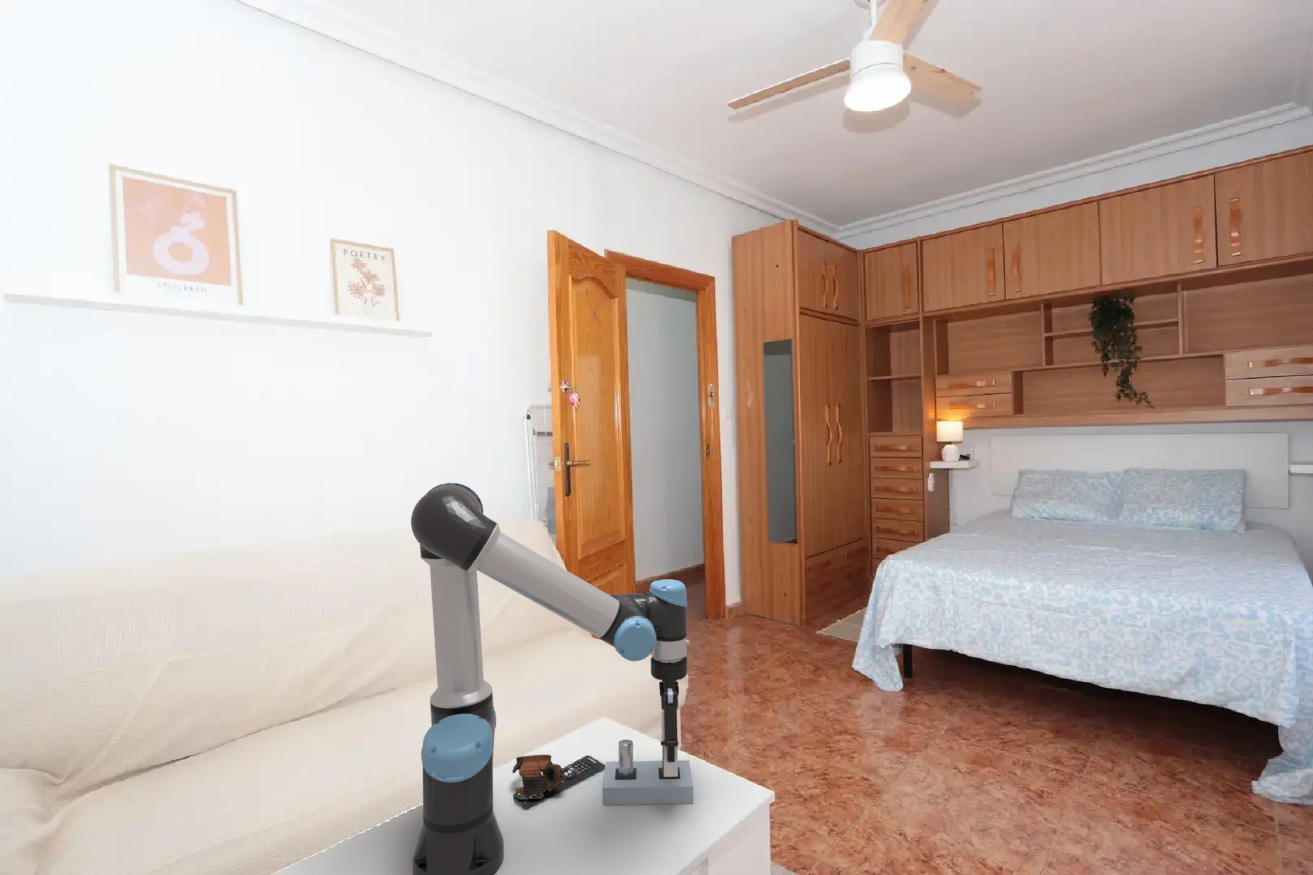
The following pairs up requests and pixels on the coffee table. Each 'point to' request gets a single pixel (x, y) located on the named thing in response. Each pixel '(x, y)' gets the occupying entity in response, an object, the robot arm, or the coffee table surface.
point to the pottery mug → (537, 774)
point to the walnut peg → (663, 766)
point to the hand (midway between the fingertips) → (669, 757)
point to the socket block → (647, 785)
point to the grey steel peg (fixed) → (625, 760)
